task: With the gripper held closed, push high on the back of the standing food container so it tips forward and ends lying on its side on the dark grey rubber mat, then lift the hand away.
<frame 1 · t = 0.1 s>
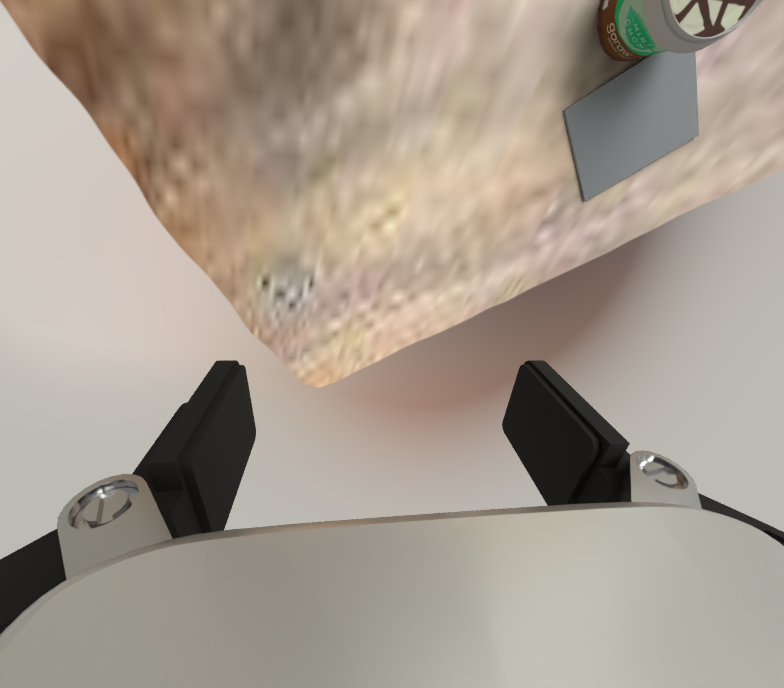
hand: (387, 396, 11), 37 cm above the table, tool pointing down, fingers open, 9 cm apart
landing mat: (632, 123, 41), on the table
food container: (618, 37, 37), on the table
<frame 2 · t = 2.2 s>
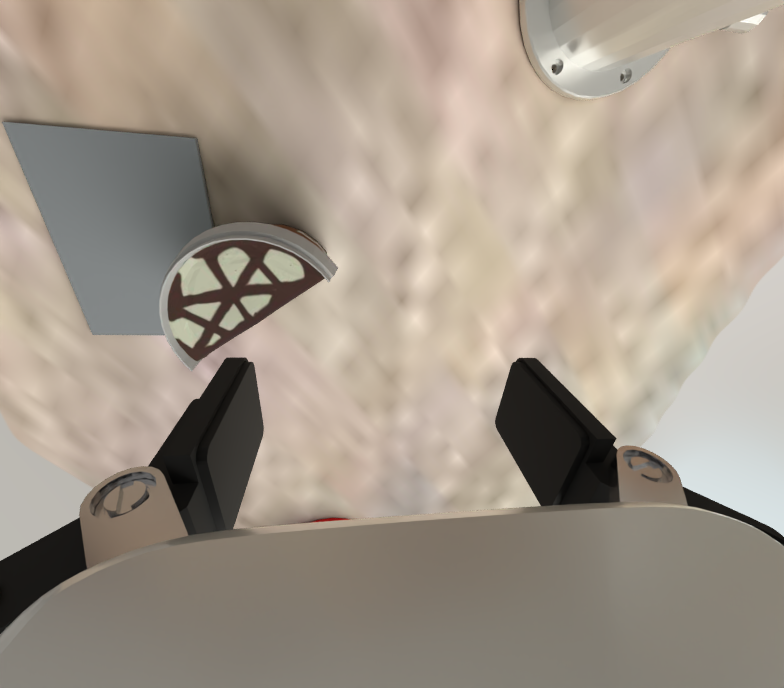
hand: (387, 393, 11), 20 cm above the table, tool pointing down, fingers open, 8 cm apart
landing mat: (140, 246, 26), on the table
food container: (261, 251, 28), on the table
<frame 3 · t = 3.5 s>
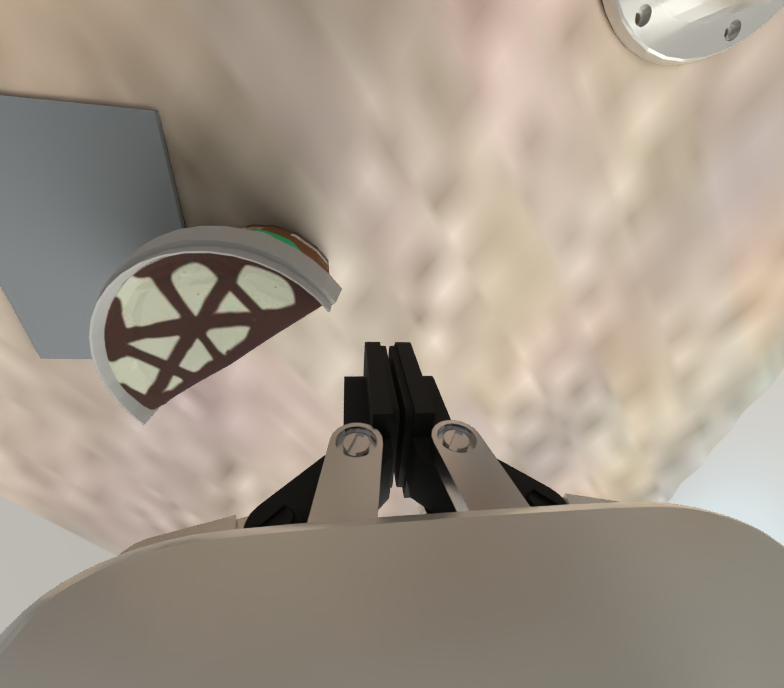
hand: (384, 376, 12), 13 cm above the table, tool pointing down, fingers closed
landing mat: (92, 252, 21), on the table
food container: (247, 258, 22), on the table
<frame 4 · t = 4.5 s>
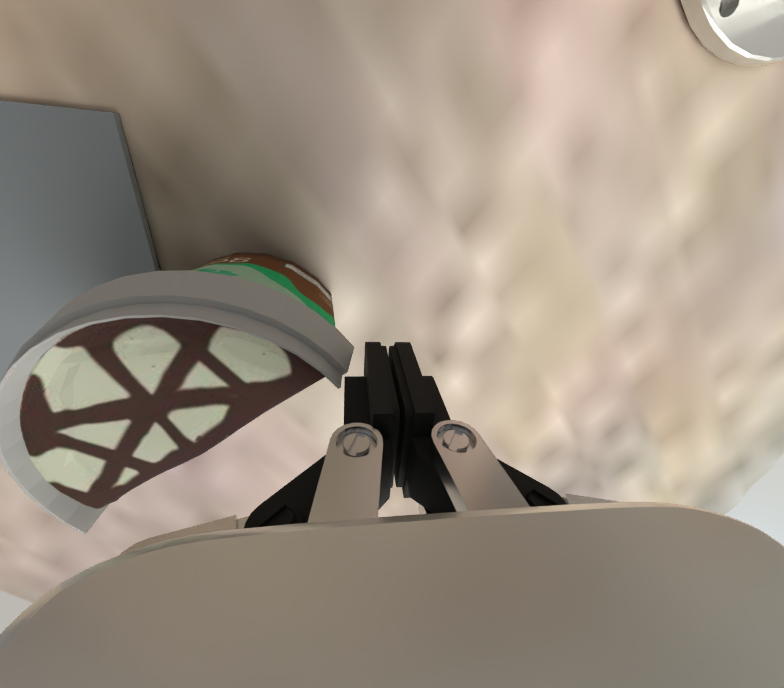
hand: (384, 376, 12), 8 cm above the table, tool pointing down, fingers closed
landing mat: (39, 286, 17), on the table
food container: (231, 292, 18), on the table, touching gripper
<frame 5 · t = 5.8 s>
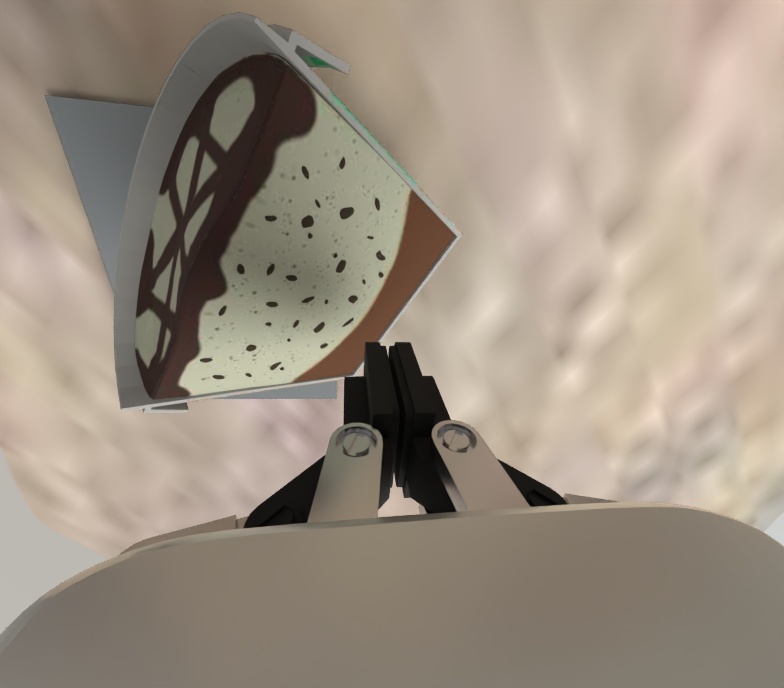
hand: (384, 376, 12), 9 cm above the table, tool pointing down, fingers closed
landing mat: (230, 283, 18), on the table
food container: (372, 278, 18), point 1 cm above the table
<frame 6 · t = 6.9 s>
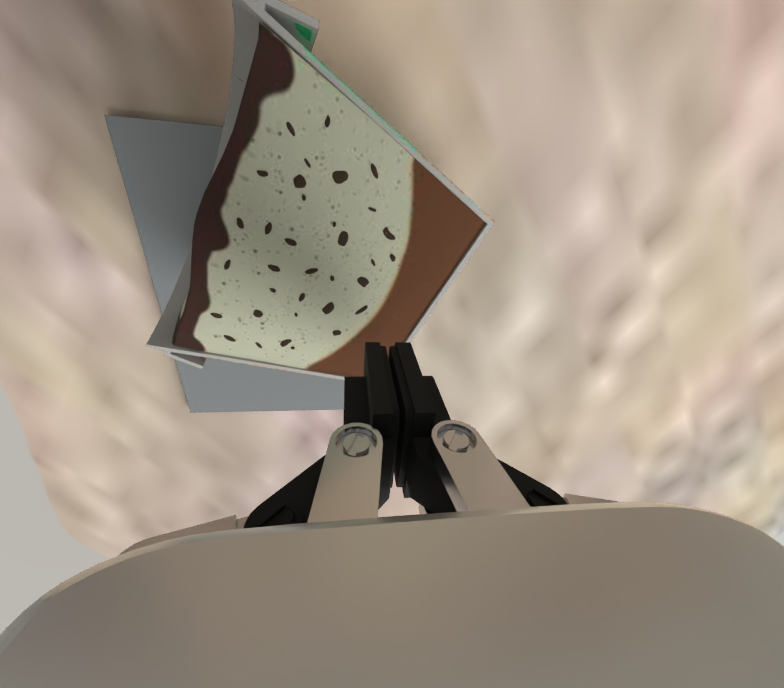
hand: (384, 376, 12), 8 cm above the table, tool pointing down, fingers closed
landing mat: (275, 297, 18), on the table
food container: (413, 286, 17), point 2 cm above the table, touching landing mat
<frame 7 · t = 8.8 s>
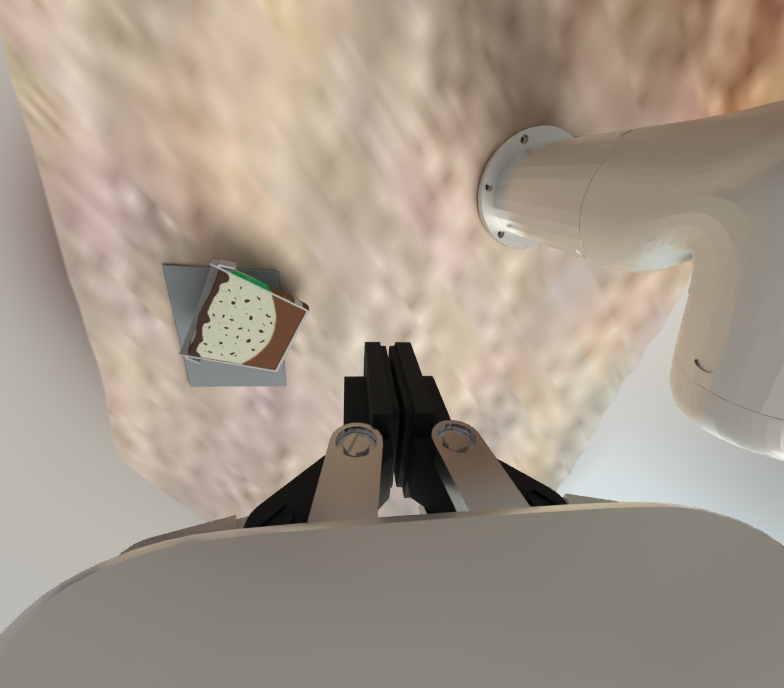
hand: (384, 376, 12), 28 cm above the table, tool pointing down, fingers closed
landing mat: (232, 331, 40), on the table
food container: (293, 328, 39), point 2 cm above the table, touching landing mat
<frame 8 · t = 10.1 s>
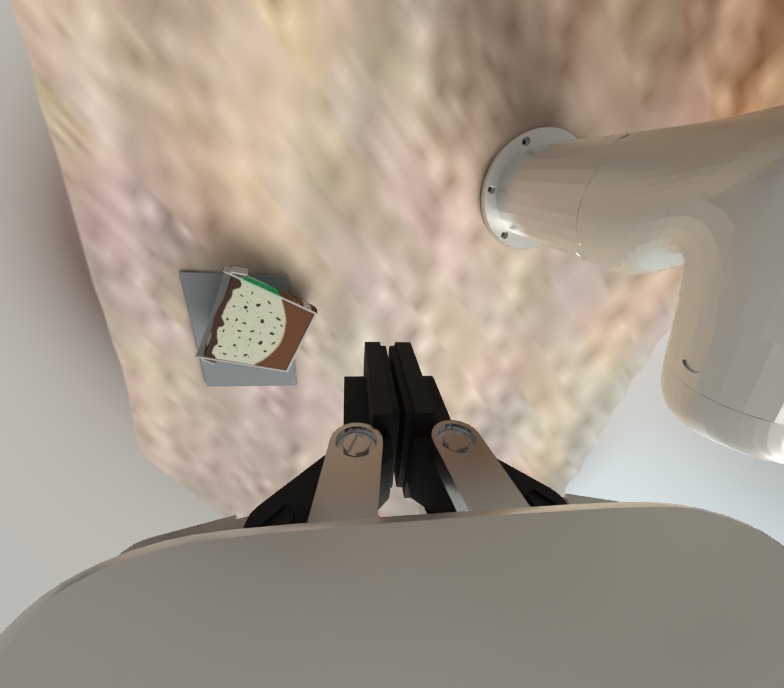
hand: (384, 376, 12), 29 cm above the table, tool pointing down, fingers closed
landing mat: (245, 333, 41), on the table
food container: (302, 330, 40), point 2 cm above the table, touching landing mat
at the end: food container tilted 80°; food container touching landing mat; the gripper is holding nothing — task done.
